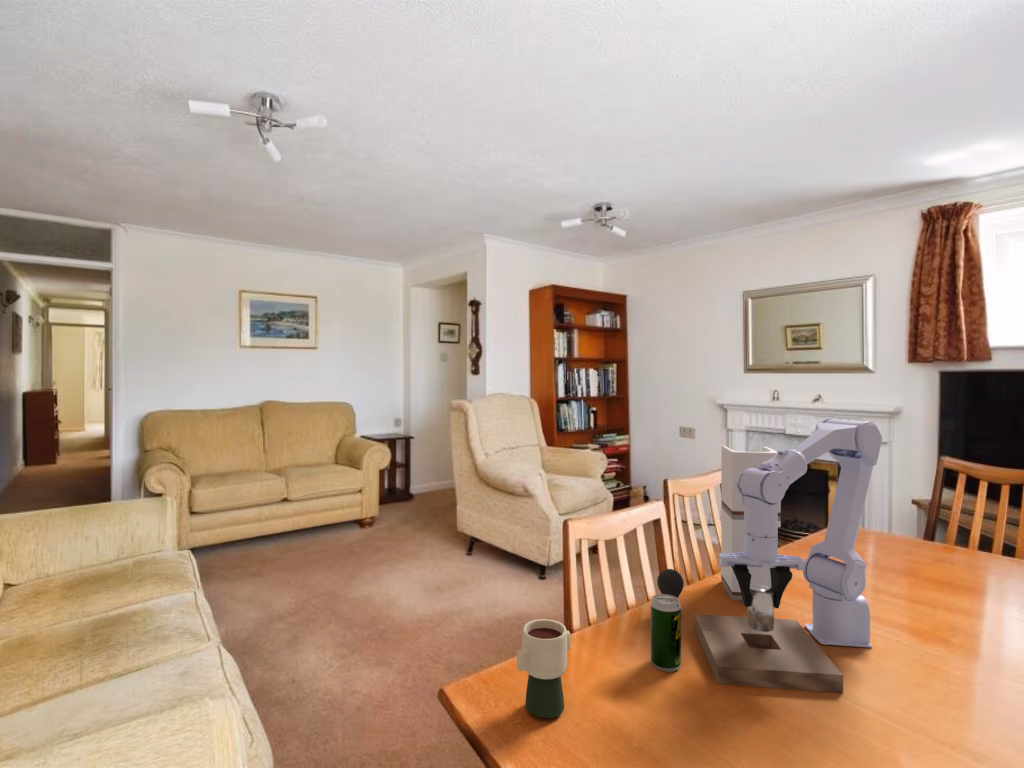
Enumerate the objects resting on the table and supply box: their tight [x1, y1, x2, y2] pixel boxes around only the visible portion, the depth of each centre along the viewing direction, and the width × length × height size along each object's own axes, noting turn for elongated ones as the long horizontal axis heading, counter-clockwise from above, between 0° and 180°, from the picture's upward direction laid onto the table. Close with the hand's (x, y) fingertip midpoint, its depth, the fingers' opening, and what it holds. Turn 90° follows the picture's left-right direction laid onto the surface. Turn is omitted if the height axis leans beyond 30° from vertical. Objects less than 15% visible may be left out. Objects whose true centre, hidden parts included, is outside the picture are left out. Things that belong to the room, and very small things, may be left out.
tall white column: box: [720, 445, 782, 602], centre depth 129 cm, size 11×11×35 cm
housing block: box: [693, 613, 844, 694], centre depth 99 cm, size 20×20×3 cm
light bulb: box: [656, 568, 685, 599], centre depth 117 cm, size 6×6×10 cm
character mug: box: [516, 618, 571, 719], centre depth 84 cm, size 11×7×13 cm, turn 127°
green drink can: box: [650, 593, 682, 673], centre depth 97 cm, size 5×5×12 cm
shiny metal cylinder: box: [747, 584, 775, 632], centre depth 99 cm, size 4×4×7 cm
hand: (760, 605), depth 99 cm, fingers closed on shiny metal cylinder, 4 cm apart
